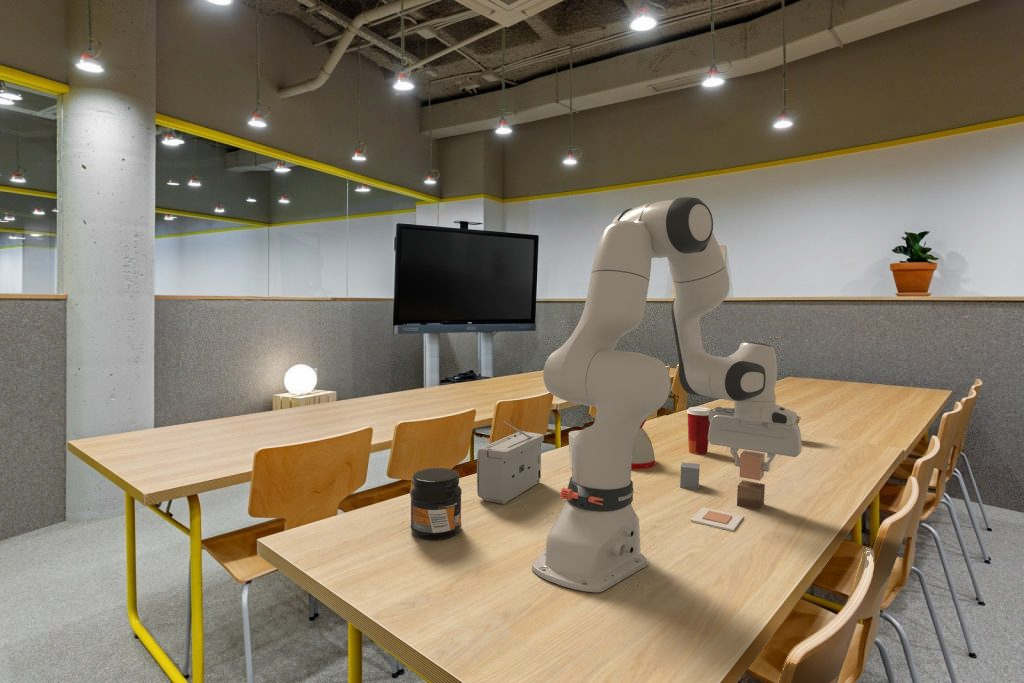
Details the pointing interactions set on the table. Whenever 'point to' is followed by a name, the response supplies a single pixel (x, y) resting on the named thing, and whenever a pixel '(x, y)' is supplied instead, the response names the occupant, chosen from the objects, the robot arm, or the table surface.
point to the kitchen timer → (642, 451)
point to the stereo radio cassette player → (509, 466)
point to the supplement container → (435, 503)
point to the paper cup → (698, 429)
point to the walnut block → (750, 495)
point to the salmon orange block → (751, 465)
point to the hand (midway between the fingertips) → (752, 468)
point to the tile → (717, 519)
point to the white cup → (571, 439)
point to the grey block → (689, 475)
